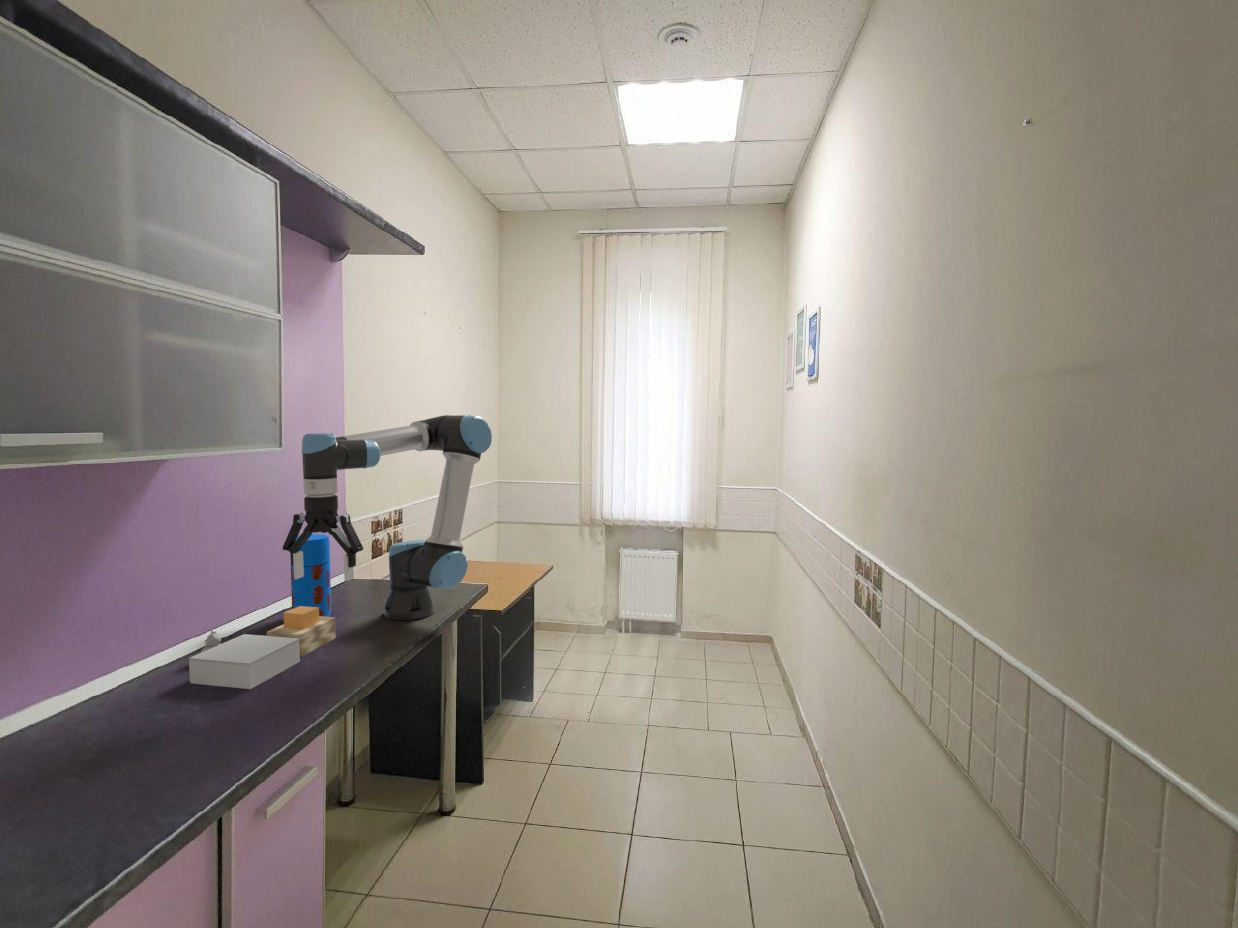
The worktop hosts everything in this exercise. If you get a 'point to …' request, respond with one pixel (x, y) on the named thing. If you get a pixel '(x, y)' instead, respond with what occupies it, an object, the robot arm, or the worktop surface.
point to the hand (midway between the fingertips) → (323, 578)
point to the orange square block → (301, 617)
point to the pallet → (309, 634)
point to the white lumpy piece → (212, 641)
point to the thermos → (314, 576)
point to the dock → (244, 661)
